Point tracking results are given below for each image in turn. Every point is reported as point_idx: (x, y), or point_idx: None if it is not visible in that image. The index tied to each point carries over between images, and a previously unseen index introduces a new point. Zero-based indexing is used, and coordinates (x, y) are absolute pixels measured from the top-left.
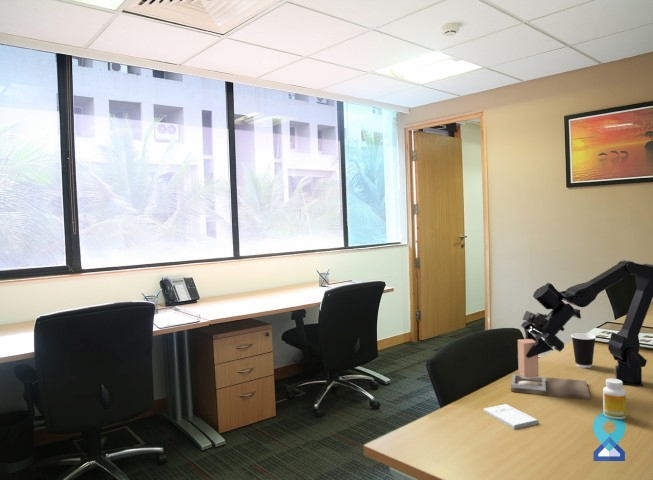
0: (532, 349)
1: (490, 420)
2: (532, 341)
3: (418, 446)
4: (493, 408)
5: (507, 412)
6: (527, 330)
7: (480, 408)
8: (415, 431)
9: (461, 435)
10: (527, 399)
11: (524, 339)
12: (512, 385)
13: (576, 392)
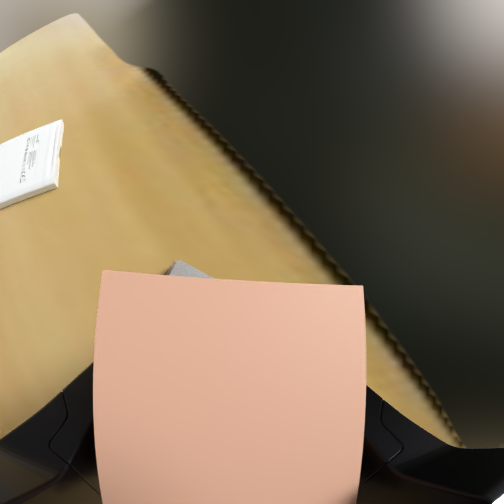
0: (75, 382)
1: (25, 128)
2: (187, 485)
3: (36, 42)
4: (48, 138)
5: (14, 163)
6: (499, 498)
7: (84, 122)
8: (71, 36)
9: (19, 80)
10: (82, 287)
11: (353, 404)
12: (174, 266)
13: None
